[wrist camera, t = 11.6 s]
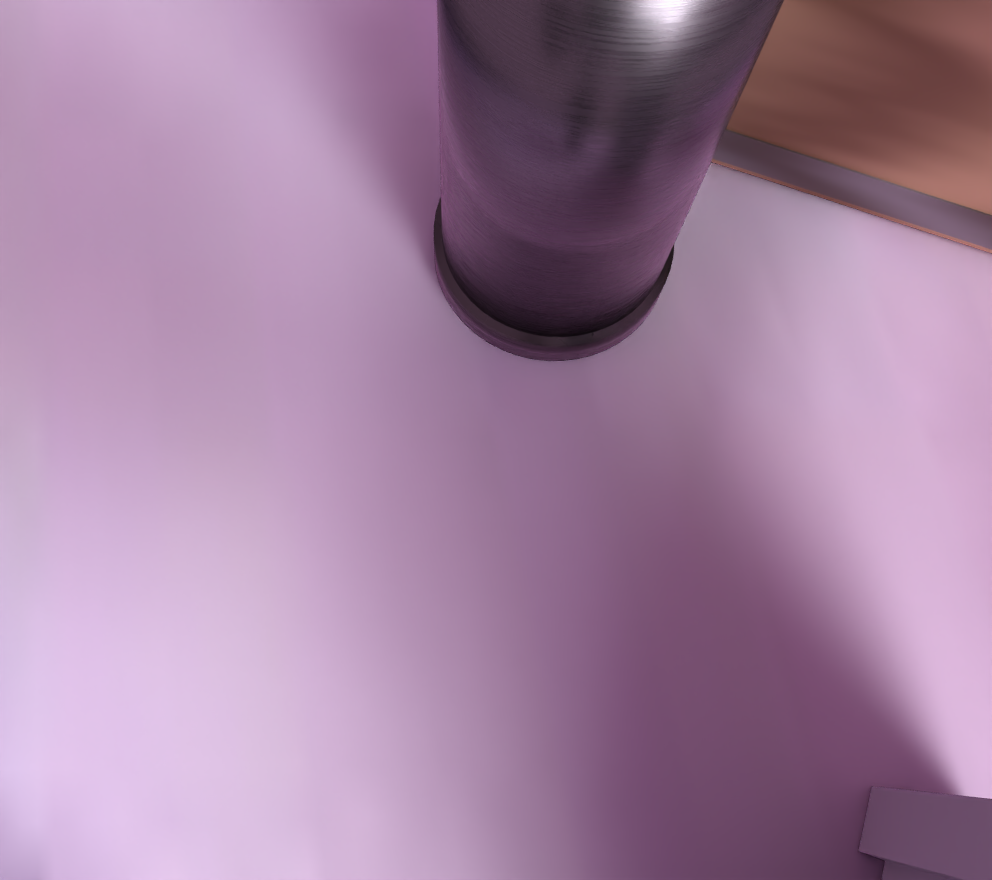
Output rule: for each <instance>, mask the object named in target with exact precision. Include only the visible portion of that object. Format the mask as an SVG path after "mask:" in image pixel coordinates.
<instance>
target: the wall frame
mask: <svg viewBox="0 0 992 880" xmlns="http://www.w3.org/2000/svg"><path fill="white" fill-rule="evenodd" d="M859 851H860V852H862V853H865V854H868V855H871V856H873V857H876V858H879V859H882V860H884V861H885V864H884V869H883V875H882V880H992V799H987V798H978V797H969V796H960V795H950V794H941V793H932V792H923V791H914V790H905V789H895V788H886V787H877V786H872V787H871V792H870V797H869V802H868V807H867V812H866V817H865V822H864V826H863V831H862V836H861V841H860V846H859Z"/></svg>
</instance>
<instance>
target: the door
mask: <svg viewBox="0 0 992 880" xmlns="http://www.w3.org/2000/svg"><path fill="white" fill-rule="evenodd" d="M711 162H714V163H717V164H720V165H723V166H726V167H729V168H732V169H735V170H738V171H741V172H744V173H747V174H750V175H754V176H757V177H760V178H763V179H766V180H769V181H772V182H775V183H778V184H781V185H784V186H787V187H790V188H793V189H796V190H800V191H803V192H806V193H809V194H812V195H815V196H818V197H821V198H824V199H827V200H830V201H833V202H836V203H839V204H842V205H845V206H849V207H852V208H855V209H858V210H861V211H864V212H867V213H870V214H873V215H876V216H879V217H882V218H885V219H888V220H891V221H895V222H898V223H901V224H904V225H907V226H910V227H913V228H916V229H919V230H922V231H925V232H928V233H931V234H934V235H937V236H941V237H944V238H947V239H950V240H953V241H956V242H959V243H962V244H965V245H968V246H971V247H974V248H977V249H980V250H983V251H986V252H990V253H992V0H784V1H783V4H782V6H781V8H780V10H779V13H778V15H777V17H776V19H775V21H774V24H773V26H772V28H771V30H770V32H769V35H768V37H767V39H766V41H765V43H764V46H763V48H762V50H761V52H760V55H759V57H758V59H757V61H756V63H755V66H754V68H753V70H752V72H751V74H750V77H749V79H748V81H747V83H746V86H745V88H744V90H743V92H742V94H741V97H740V99H739V101H738V103H737V105H736V108H735V110H734V112H733V114H732V117H731V119H730V121H729V123H728V125H727V128H726V130H725V132H724V134H723V136H722V139H721V141H720V143H719V145H718V147H717V150H716V152H715V154H714V156H713V159H712V161H711Z"/></svg>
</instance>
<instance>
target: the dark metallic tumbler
mask: <svg viewBox="0 0 992 880" xmlns="http://www.w3.org/2000/svg"><path fill="white" fill-rule="evenodd" d="M783 1H784V0H437V11H438V62H439V113H440V164H441V198H440V201H439V204H438V207H437V210H436V215H435V222H434V257H435V266H436V273H437V276H438V280H439V283H440V286H441V289H442V291H443V293H444V295H445V297H446V299H447V301H448V303H449V304H450V306H451V307H452V309H453V311H454V312H455V313H456V314H457V316H458V317H459V318H460V319H461V320H462V322H463V323H464V324H465V325H466V326H468V327H469V328H470V329H471V330H472V331H473V332H474V333H475V334H477V335H478V336H480V337H481V338H482V339H484V340H485V341H487V342H488V343H490V344H492V345H494V346H496V347H498V348H500V349H502V350H504V351H507V352H509V353H512V354H515V355H518V356H522V357H526V358H530V359H537V360H545V361H564V360H573V359H579V358H583V357H587V356H591V355H594V354H597V353H599V352H602V351H605V350H607V349H609V348H611V347H612V346H614V345H616V344H618V343H620V342H621V341H622V340H624V339H625V338H626V337H628V336H629V335H631V334H632V333H633V332H634V331H635V330H636V329H637V328H638V327H639V326H640V325H641V324H642V323H643V321H644V320H645V319H646V317H647V316H648V315H649V314H650V312H651V310H652V308H653V307H654V305H655V303H656V301H657V299H658V297H659V295H660V293H661V291H662V289H663V287H664V284H665V282H666V280H667V277H668V274H669V272H670V269H671V264H672V260H673V254H674V243H675V240H676V238H677V236H678V234H679V232H680V229H681V227H682V225H683V223H684V220H685V218H686V216H687V214H688V212H689V209H690V207H691V205H692V203H693V201H694V198H695V196H696V194H697V192H698V190H699V187H700V185H701V183H702V181H703V178H704V176H705V174H706V172H707V170H708V167H709V165H710V163H711V161H712V159H713V156H714V154H715V152H716V150H717V147H718V145H719V143H720V141H721V139H722V136H723V134H724V132H725V130H726V128H727V125H728V123H729V121H730V119H731V117H732V114H733V112H734V110H735V108H736V105H737V103H738V101H739V99H740V97H741V94H742V92H743V90H744V88H745V86H746V83H747V81H748V79H749V77H750V74H751V72H752V70H753V68H754V66H755V63H756V61H757V59H758V57H759V55H760V52H761V50H762V48H763V46H764V43H765V41H766V39H767V37H768V35H769V32H770V30H771V28H772V26H773V24H774V21H775V19H776V17H777V15H778V13H779V10H780V8H781V6H782V4H783Z"/></svg>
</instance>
